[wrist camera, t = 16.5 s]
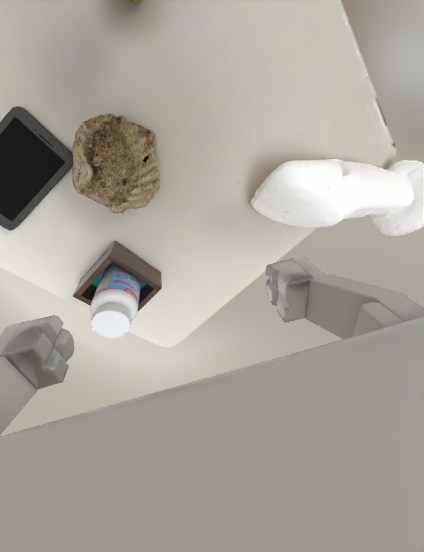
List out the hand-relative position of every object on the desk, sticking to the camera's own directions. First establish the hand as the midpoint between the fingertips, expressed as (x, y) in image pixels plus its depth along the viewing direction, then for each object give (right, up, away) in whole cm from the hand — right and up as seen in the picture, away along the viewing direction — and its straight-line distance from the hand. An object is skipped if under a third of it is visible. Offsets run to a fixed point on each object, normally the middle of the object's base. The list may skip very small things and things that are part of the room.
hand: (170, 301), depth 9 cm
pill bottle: (-13, +1, +30) cm, 32 cm away
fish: (+20, +6, +24) cm, 32 cm away
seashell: (-10, +16, +22) cm, 29 cm away
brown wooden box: (-14, +1, +30) cm, 33 cm away
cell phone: (-23, +14, +20) cm, 33 cm away
